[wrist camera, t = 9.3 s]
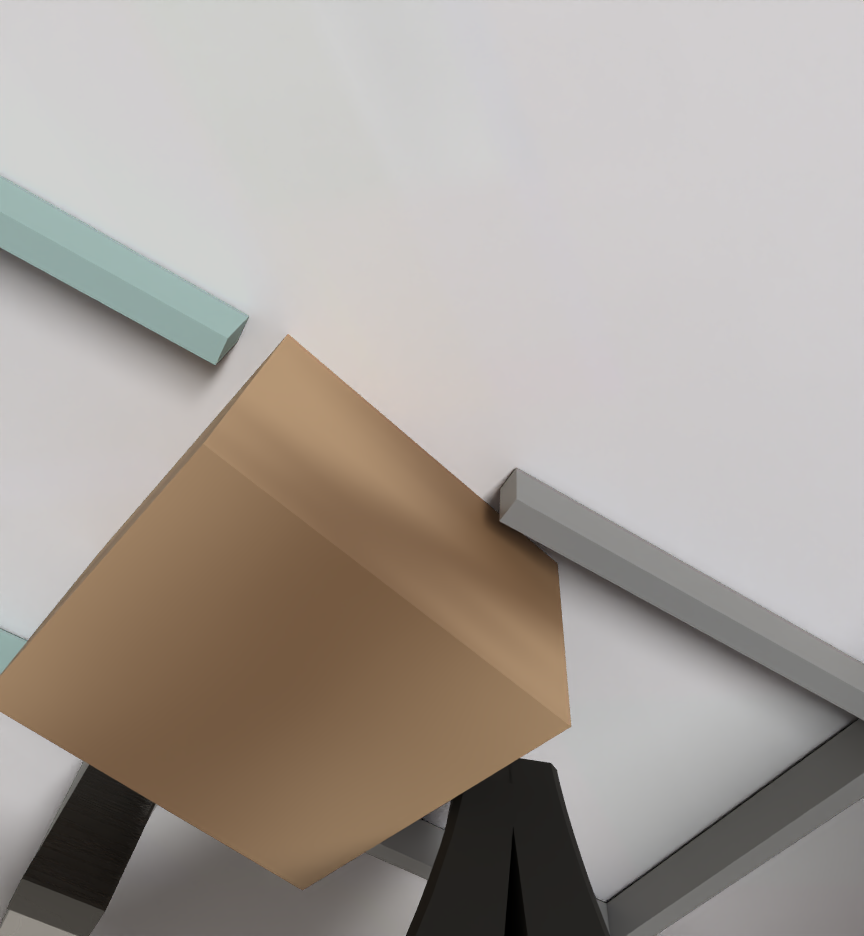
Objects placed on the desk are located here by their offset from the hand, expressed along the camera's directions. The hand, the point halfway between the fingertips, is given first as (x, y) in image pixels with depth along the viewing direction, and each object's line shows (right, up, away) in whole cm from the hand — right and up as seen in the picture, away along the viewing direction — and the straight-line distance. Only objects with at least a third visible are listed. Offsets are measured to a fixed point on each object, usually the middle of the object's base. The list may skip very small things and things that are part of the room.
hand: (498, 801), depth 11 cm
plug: (-3, +4, 0) cm, 4 cm away
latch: (-8, -3, +5) cm, 10 cm away
